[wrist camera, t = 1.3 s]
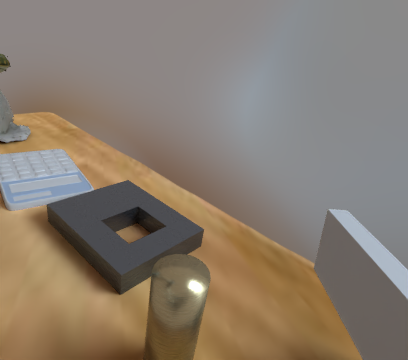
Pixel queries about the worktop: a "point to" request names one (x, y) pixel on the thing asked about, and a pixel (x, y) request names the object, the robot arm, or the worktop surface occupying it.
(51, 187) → the calculator
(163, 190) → the worktop surface
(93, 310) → the worktop surface
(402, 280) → the robot arm
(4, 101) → the mossy stone tower
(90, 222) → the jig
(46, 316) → the worktop surface
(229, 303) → the worktop surface
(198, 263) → the brushed metal cylinder
